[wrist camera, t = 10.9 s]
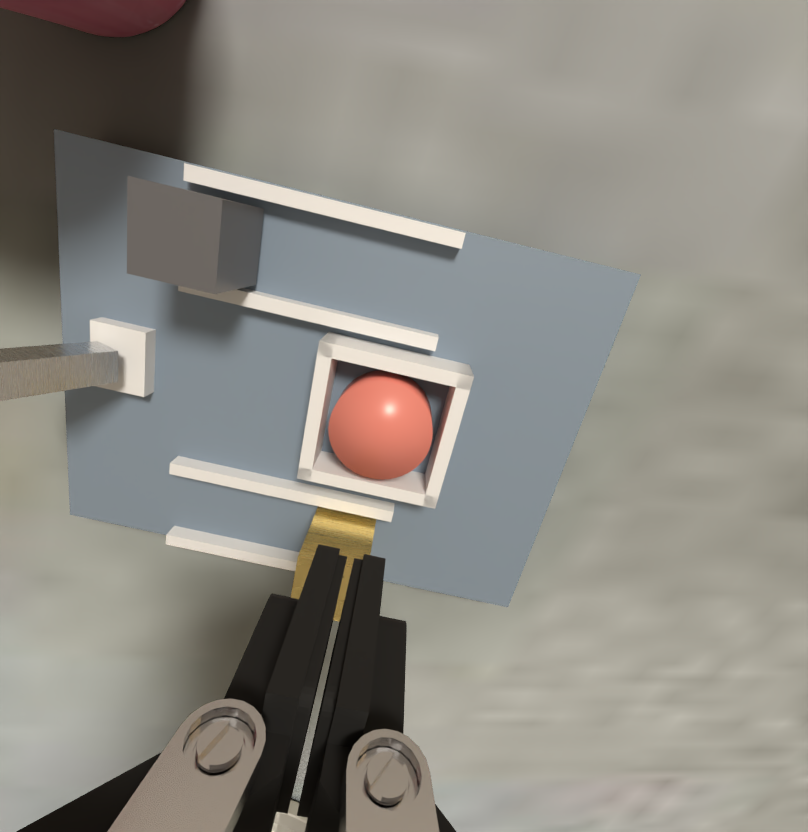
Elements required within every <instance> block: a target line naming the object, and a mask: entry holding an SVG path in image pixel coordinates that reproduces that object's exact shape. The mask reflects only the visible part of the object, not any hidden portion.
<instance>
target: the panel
mask: <svg viewBox="0 0 808 832" xmlns="http://www.w3.org/2000/svg"><path fill="white" fill-rule="evenodd" d="M54 148H55V172H56V195H57V219H58V242H59V266H60V289H61V313H62V336H63V344H67V343H80V342H92V341H98V342H100V343H103V344H105V345H107V346H109V347H111V348H113V349H115V350H118V382H115V383H109V384H103V385H96V386H90V387H84V388H78V389H71V390H65V407H66V430H67V454H68V477H69V501H70V515H75V516H79V517H84V518H89V519H94V520H98V521H103V522H108V523H112V524H117V525H122V526H127V527H131V528H136V529H141V530H145V531H150V532H155V533H160V534H164V535H166V544H167V545H172V546H177V547H181V548H186V549H191V550H196V551H200V552H205V553H210V554H215V555H219V556H224V557H229V558H234V559H238V560H243V561H248V562H253V563H257V564H262V565H267V566H272V567H276V568H281V569H286V570H291V571H295V570H296V564H297V559H298V555H299V553H300V550H301V548H302V545H303V543H304V540H305V538H306V535H307V533H308V530H309V528H310V525H311V523H312V520H313V518H314V515H315V513H316V510H317V508H318V506H319V507H324V508H328V509H333V510H337V511H342V512H347V513H351V514H356V515H360V516H365V517H370V518H374V519H376V524H375V530H374V536H373V542H372V548H371V554H370V555H372V556H377V557H381V558H385V559H386V560H385V570H384V579H383V581H386V582H391V583H396V584H400V585H405V586H410V587H415V588H419V589H424V590H429V591H434V592H438V593H443V594H448V595H452V596H457V597H462V598H467V599H471V600H476V601H481V602H485V603H490V604H495V605H500V606H504V607H508V606H509V603H510V601H511V598H512V596H513V593H514V591H515V588H516V586H517V583H518V581H519V578H520V576H521V573H522V571H523V568H524V566H525V563H526V561H527V558H528V556H529V553H530V551H531V548H532V546H533V543H534V541H535V538H536V536H537V533H538V531H539V528H540V526H541V523H542V521H543V518H544V516H545V513H546V511H547V508H548V506H549V503H550V501H551V498H552V496H553V493H554V491H555V488H556V486H557V483H558V481H559V478H560V476H561V473H562V471H563V468H564V466H565V463H566V461H567V458H568V456H569V453H570V451H571V448H572V446H573V443H574V441H575V438H576V436H577V433H578V431H579V428H580V426H581V423H582V421H583V418H584V416H585V413H586V411H587V408H588V406H589V403H590V401H591V398H592V396H593V393H594V391H595V388H596V386H597V383H598V381H599V378H600V376H601V373H602V371H603V368H604V366H605V363H606V361H607V358H608V356H609V353H610V351H611V348H612V346H613V343H614V341H615V338H616V336H617V333H618V331H619V328H620V326H621V323H622V321H623V318H624V316H625V313H626V311H627V308H628V306H629V303H630V301H631V298H632V296H633V293H634V291H635V288H636V286H637V283H638V281H639V278H640V276H641V275H640V274H636V273H632V272H628V271H624V270H620V269H616V268H612V267H608V266H604V265H600V264H596V263H592V262H588V261H584V260H580V259H576V258H572V257H568V256H564V255H560V254H556V253H552V252H548V251H544V250H540V249H536V248H531V247H527V246H523V245H519V244H515V243H511V242H507V241H503V240H499V239H495V238H491V237H487V236H483V235H479V234H475V233H471V232H467V231H463V230H459V229H455V228H451V227H447V226H443V225H439V224H435V223H431V222H427V221H423V220H419V219H415V218H411V217H407V216H403V215H399V214H395V213H391V212H387V211H383V210H379V209H375V208H371V207H366V206H362V205H358V204H354V203H350V202H346V201H342V200H338V199H334V198H330V197H326V196H322V195H318V194H314V193H310V192H306V191H302V190H298V189H294V188H290V187H286V186H282V185H278V184H274V183H270V182H266V181H262V180H258V179H254V178H250V177H246V176H242V175H238V174H234V173H230V172H226V171H222V170H218V169H214V168H210V167H206V166H201V165H197V164H193V163H189V162H185V161H181V160H177V159H173V158H169V157H165V156H161V155H157V154H153V153H149V152H145V151H141V150H137V149H133V148H129V147H125V146H121V145H117V144H113V143H109V142H105V141H101V140H97V139H93V138H89V137H85V136H81V135H77V134H73V133H69V132H65V131H61V130H57V129H54ZM127 176H131V177H136V178H140V179H144V180H148V181H152V182H156V183H161V184H165V185H169V186H173V187H177V188H181V189H186V190H190V191H194V192H198V193H202V194H206V195H210V196H214V197H218V198H222V199H226V200H230V201H235V202H239V203H243V204H247V205H251V206H255V207H259V208H263V209H264V215H263V224H262V233H261V243H260V252H259V261H258V270H257V280H256V285H253V286H249V287H245V288H240V289H236V290H232V291H228V292H223V293H219V294H212V293H207V292H203V291H199V290H195V289H191V288H186V287H182V286H178V285H174V284H169V283H165V282H161V281H157V280H152V279H148V278H144V277H140V276H135V275H131V274H127ZM378 370H384V371H388V372H392V373H397V374H401V375H405V376H407V377H409V378H411V379H412V380H413V381H415V382H416V383H417V384H418V385H419V386H420V387H421V388H422V390H423V391H424V392H425V394H426V396H427V398H428V400H429V403H430V406H431V413H432V429H433V435H432V442H431V446H430V449H429V451H428V453H427V455H426V457H425V458H424V460H423V461H422V462H421V463H420V464H419V465H418V466H417V467H416V468H415V469H414V470H412V471H411V472H409V473H407V474H405V475H403V476H400V477H397V478H392V479H372V478H368V477H364V476H362V475H359V474H357V473H355V472H353V471H352V470H350V469H349V468H348V467H346V466H345V465H344V464H343V463H342V462H341V461H340V460H339V458H338V457H337V456H336V454H335V452H334V450H333V448H332V446H331V443H330V440H329V432H328V427H329V420H330V416H331V413H332V411H333V409H334V407H335V405H336V403H337V401H338V400H339V398H340V396H341V394H342V393H343V391H344V389H345V388H346V387H347V386H348V384H350V383H351V382H352V381H353V380H354V379H356V378H357V377H359V376H361V375H363V374H365V373H368V372H372V371H378Z"/></svg>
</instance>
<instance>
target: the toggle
mask: <svg viewBox="0 0 808 832" xmlns="http://www.w3.org/2000/svg"><path fill="white" fill-rule="evenodd" d="M115 382H118V350H115V349H113V348H111V347H109V346H107V345H105V344H103V343H100V342H98V341H92V342H80V343H67V344H54V345H41V346H28V347H16V348H3V349H0V401H3V400H9V399H15V398H21V397H28V396H34V395H40V394H46V393H53V392H59V391H65V390H71V389H78V388H84V387H90V386H96V385H103V384H109V383H115Z"/></svg>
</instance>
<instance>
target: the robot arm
mask: <svg viewBox="0 0 808 832" xmlns="http://www.w3.org/2000/svg"><path fill="white" fill-rule="evenodd" d="M339 553H340V549H339V548H334V547H330V546H325V545H320V544H318V547H317V549H316V552H315V555H314V558H313V561H312V563H311V566H310V569H309V572H308V575H307V578H306V580H305V583H304V586H303V589H302V592H301V594H300V597H299V599H295V598H290V597H286V596H281V595H276V594H271V596H270V597H269V599H268V601H267V603H266V606H265V608H264V610H263V612H262V615H261V617H260V619H259V621H258V624H257V626H256V628H255V630H254V633H253V635H252V637H251V639H250V642H249V644H248V646H247V648H246V651H245V653H244V655H243V657H242V660H241V662H240V664H239V667H238V669H237V671H236V673H235V676H234V678H233V680H232V682H231V685H230V687H229V689H228V691H227V694H226V696H225V698H224V699H221V700H215V701H213V702H210V703H207V704H205V705H203V706H201V707H200V708H198V709H197V710H195V711H194V712H192V713H191V714H190V715H189V716H188V717H187V719H186V720H185V721H184V722H183V723H182V724H181V725H180V727H179V728H178V730H177V731H176V733H175V734H174V736H173V737H172V738H171V740H170V741H169V743H168V744H167V746H166V747H165V749H164V750H163V752H161V753H160V754H158V755H156V756H154V757H152V758H151V759H149V760H147V761H145V762H143V763H141V764H140V765H138V766H136V767H134V768H132V769H130V770H129V771H127V772H125V773H123V774H121V775H119V776H118V777H116V778H114V779H112V780H110V781H108V782H107V783H105V784H103V785H101V786H99V787H97V788H96V789H94V790H92V791H90V792H88V793H86V794H85V795H83V796H81V797H79V798H77V799H75V800H74V801H72V802H70V803H68V804H66V805H64V806H63V807H61V808H59V809H57V810H55V811H53V812H52V813H50V814H48V815H46V816H44V817H42V818H41V819H39V820H37V821H35V822H33V823H31V824H30V825H28V826H26V827H24V828H22V829H20V830H19V831H17V832H456V831H455V829H454V828H453V827H452V825H451V824H450V823H449V821H448V820H447V819H446V818H445V816H444V815H443V814H442V812H441V811H440V810H439V808H438V807H437V806H436V804H435V801H434V794H433V788H432V782H431V775H430V771H429V767H428V764H427V760H426V758H425V756H424V755H423V753H422V751H421V750H420V748H419V746H418V745H416V744H415V743H414V742H413V741H412V740H411V739H410V738H409V737H408V736H406V735H404V734H403V724H404V692H405V660H406V621H402V620H397V619H392V618H387V617H382V616H379V615H380V606H381V597H382V588H383V579H384V570H385V560H386V559H385V558H381V557H377V556H372V555H367V554H364V556H363V560H361V559H356V558H354V561H353V566H352V570H351V574H350V578H349V583H348V587H347V591H346V596H345V600H344V604H343V609H342V613H341V617H340V622H339V626H338V630H337V635H336V639H335V643H334V648H333V652H332V657H331V661H330V666H329V670H328V675H327V680H326V684H325V689H324V693H323V698H322V702H321V707H320V711H319V716H318V721H317V725H316V730H315V734H314V739H313V743H312V748H311V752H310V757H309V762H308V766H307V771H306V775H305V780H304V784H303V789H302V794H301V798H300V803H298V802H295V801H293V800H291V797H292V793H293V788H294V784H295V780H296V776H297V772H298V767H299V763H300V759H301V755H302V750H303V746H304V742H305V738H306V734H307V729H308V725H309V721H310V717H311V712H312V708H313V704H314V700H315V696H316V691H317V687H318V683H319V679H320V674H321V670H322V666H323V662H324V658H325V653H326V649H327V645H328V640H329V636H330V631H331V627H332V622H333V618H334V614H335V609H336V605H337V600H338V596H339V591H340V587H341V582H342V578H343V574H344V569H345V565H346V560H347V556H342V555H339Z"/></svg>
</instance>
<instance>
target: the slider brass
mask: <svg viewBox="0 0 808 832" xmlns="http://www.w3.org/2000/svg"><path fill="white" fill-rule="evenodd" d="M375 524H376V519H374V518H370V517H365V516H360V515H356V514H351V513H347V512H342V511H337V510H333V509H328V508H324V507H319V506H318V508H317V510H316V513H315V515H314V518H313V520H312V523H311V525H310V528H309V530H308V533H307V535H306V538H305V540H304V543H303V545H302V548H301V550H300V553H299V555H298V559H297V564H296V570H295V576H294V581H293V587H292V593H291V598H295V599H299V597H300V594H301V592H302V589H303V586H304V583H305V580H306V578H307V575H308V572H309V569H310V566H311V563H312V561H313V558H314V555H315V552H316V549H317V547H318V544H320V545H325V546H330V547H334V548H339V549H340V553H339V555H342V556H347V560H346V565H345V569H344V574H343V578H342V582H341V587H340V591H339V596H338V600H337V605H336V609H335V614H334V618H333V620H335V621H340V617H341V613H342V609H343V604H344V600H345V596H346V591H347V587H348V583H349V578H350V574H351V570H352V566H353V561H354V558H356V559H361V560H363V556H364V554H367V555H370V554H371V548H372V542H373V536H374V530H375Z"/></svg>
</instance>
